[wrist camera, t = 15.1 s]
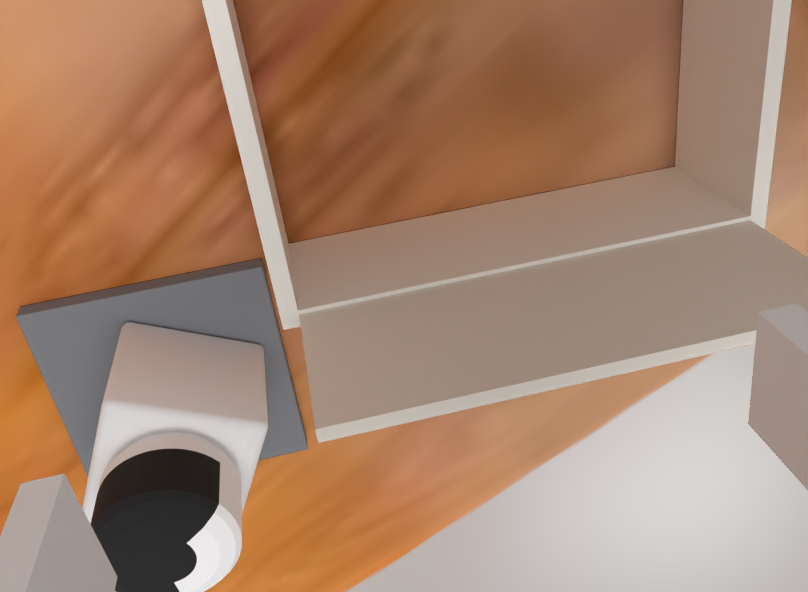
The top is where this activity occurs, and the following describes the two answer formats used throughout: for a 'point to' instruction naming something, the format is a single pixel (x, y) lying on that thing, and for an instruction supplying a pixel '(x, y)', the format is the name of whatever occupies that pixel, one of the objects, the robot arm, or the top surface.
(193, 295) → the mat
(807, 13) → the top surface
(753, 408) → the robot arm
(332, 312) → the carton
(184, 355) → the medicine bottle
